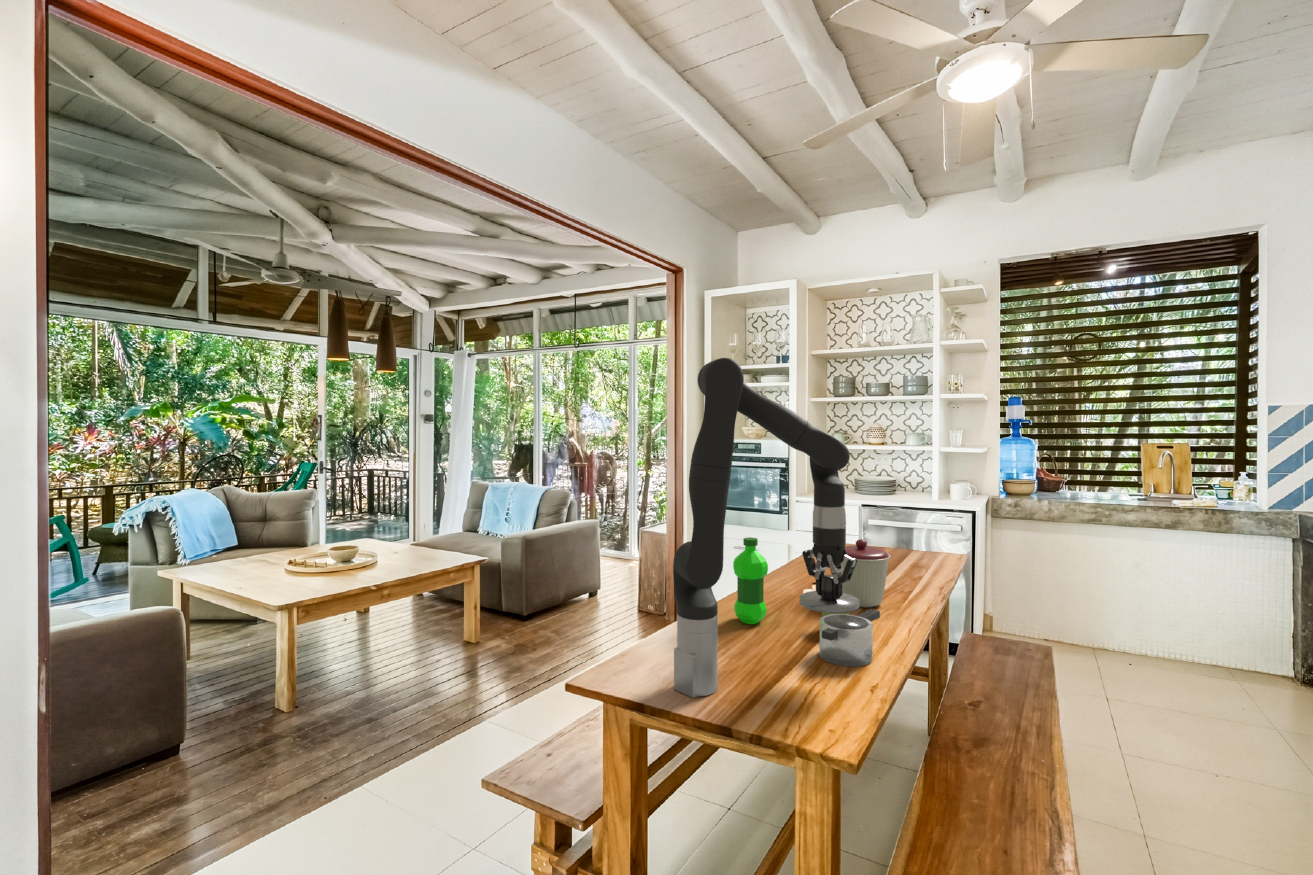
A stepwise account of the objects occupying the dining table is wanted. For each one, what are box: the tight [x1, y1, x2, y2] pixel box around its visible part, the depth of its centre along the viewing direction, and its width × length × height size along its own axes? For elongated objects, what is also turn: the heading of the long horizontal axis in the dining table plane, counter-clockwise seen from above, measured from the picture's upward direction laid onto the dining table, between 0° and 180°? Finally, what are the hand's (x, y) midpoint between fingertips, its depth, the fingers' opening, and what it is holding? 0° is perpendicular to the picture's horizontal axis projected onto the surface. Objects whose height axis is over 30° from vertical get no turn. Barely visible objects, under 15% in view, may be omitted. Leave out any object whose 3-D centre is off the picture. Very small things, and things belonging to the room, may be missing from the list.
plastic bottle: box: [732, 536, 769, 625], centre depth 189 cm, size 10×10×25 cm
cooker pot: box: [819, 608, 881, 668], centre depth 164 cm, size 25×13×9 cm, turn 133°
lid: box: [799, 574, 860, 613], centre depth 148 cm, size 14×14×6 cm
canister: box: [836, 539, 892, 608], centre depth 206 cm, size 18×18×21 cm
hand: (829, 596), depth 149 cm, fingers closed on lid, 3 cm apart
